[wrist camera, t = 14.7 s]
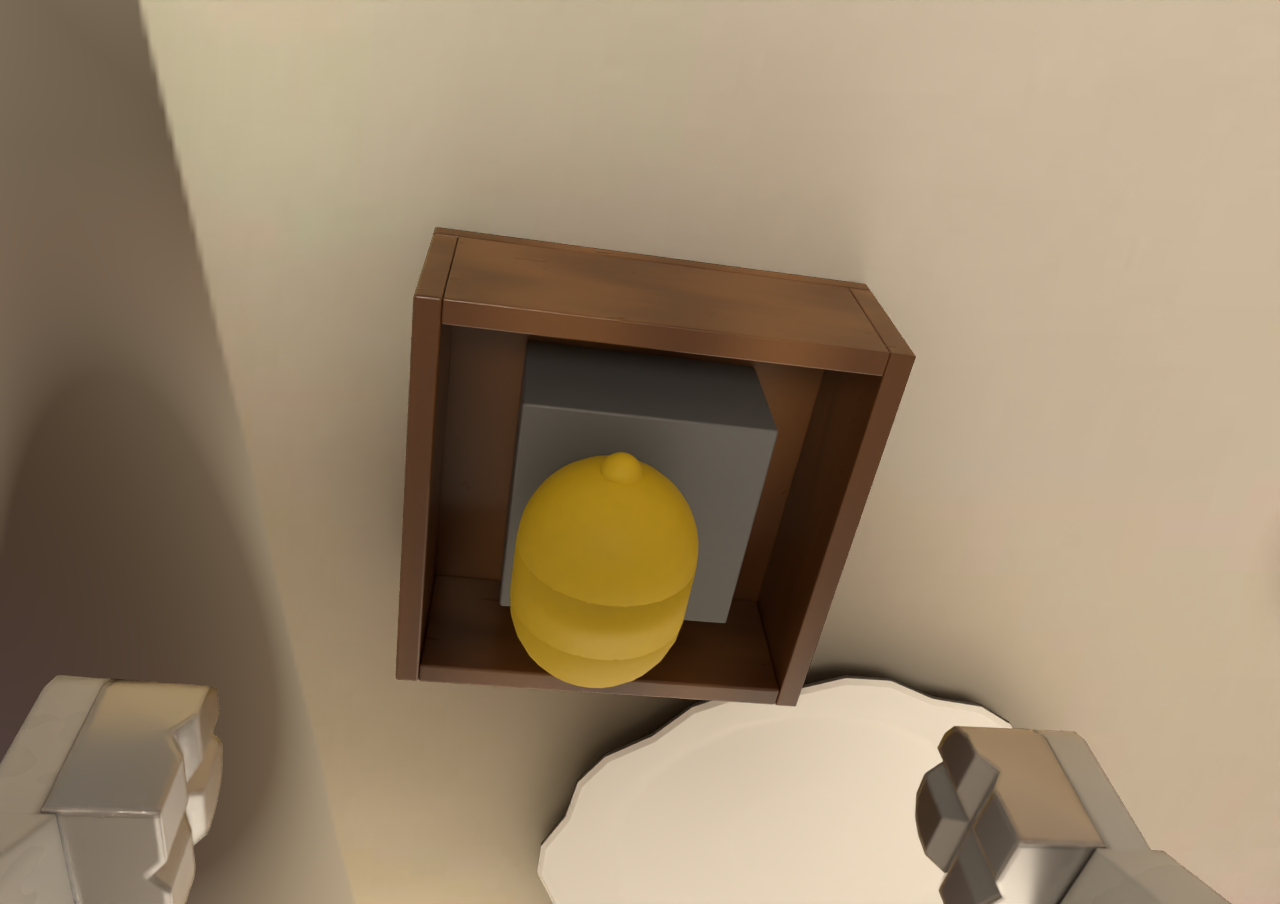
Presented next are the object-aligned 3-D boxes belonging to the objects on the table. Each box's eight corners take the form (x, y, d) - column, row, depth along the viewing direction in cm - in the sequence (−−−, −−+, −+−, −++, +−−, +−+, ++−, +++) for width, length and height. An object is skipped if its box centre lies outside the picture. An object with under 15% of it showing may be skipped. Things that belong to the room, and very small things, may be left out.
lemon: (688, 653, 33) (630, 764, 29) (545, 597, 35) (469, 695, 30) (741, 444, 29) (683, 536, 25) (576, 389, 30) (492, 468, 26)
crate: (415, 578, 39) (394, 680, 34) (435, 226, 32) (413, 294, 27) (768, 607, 41) (796, 707, 36) (866, 283, 34) (916, 356, 29)
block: (505, 528, 37) (499, 606, 34) (526, 338, 33) (522, 403, 29) (709, 546, 39) (726, 624, 35) (755, 365, 34) (779, 431, 31)
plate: (877, 1007, 58) (886, 1040, 57) (474, 934, 52) (471, 969, 50) (1144, 729, 47) (1164, 761, 45) (668, 589, 40) (672, 621, 39)
